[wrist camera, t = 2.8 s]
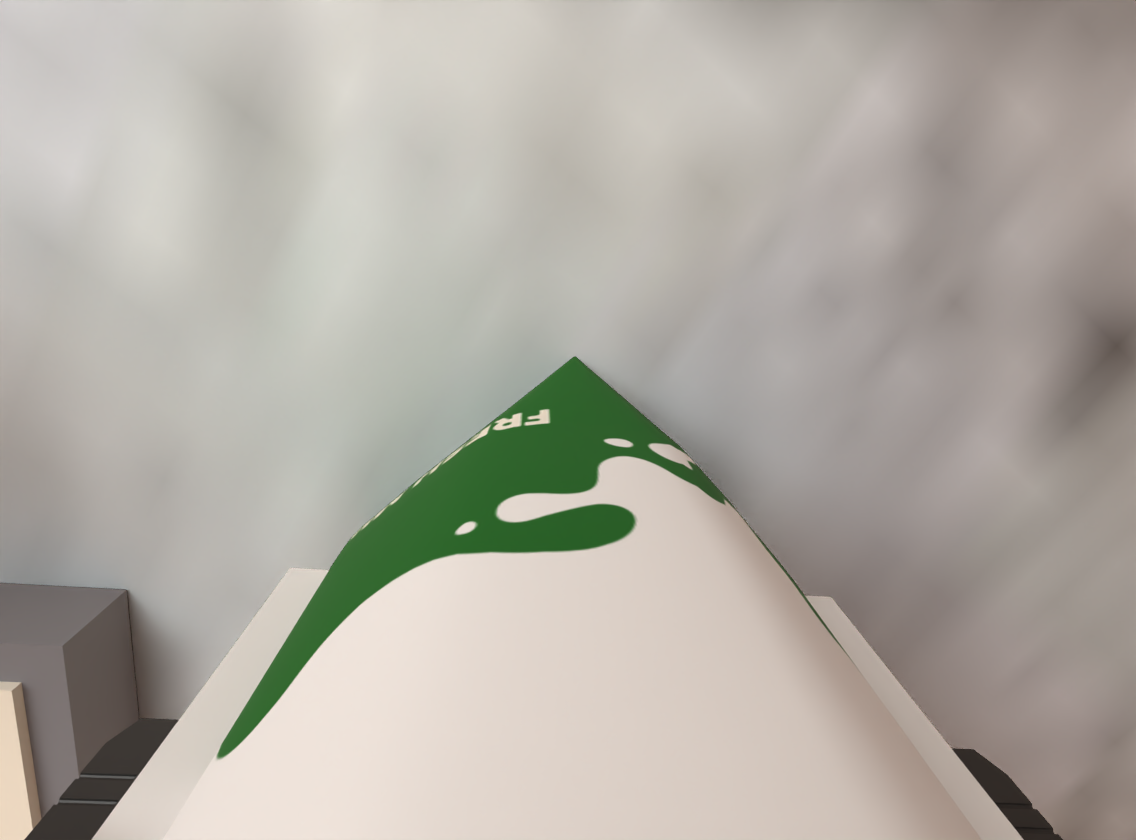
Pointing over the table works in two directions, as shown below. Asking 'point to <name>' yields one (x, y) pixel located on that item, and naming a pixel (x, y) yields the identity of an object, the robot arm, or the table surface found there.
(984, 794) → the robot arm
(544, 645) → the soya milk
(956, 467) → the table surface
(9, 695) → the grey framed square panel
